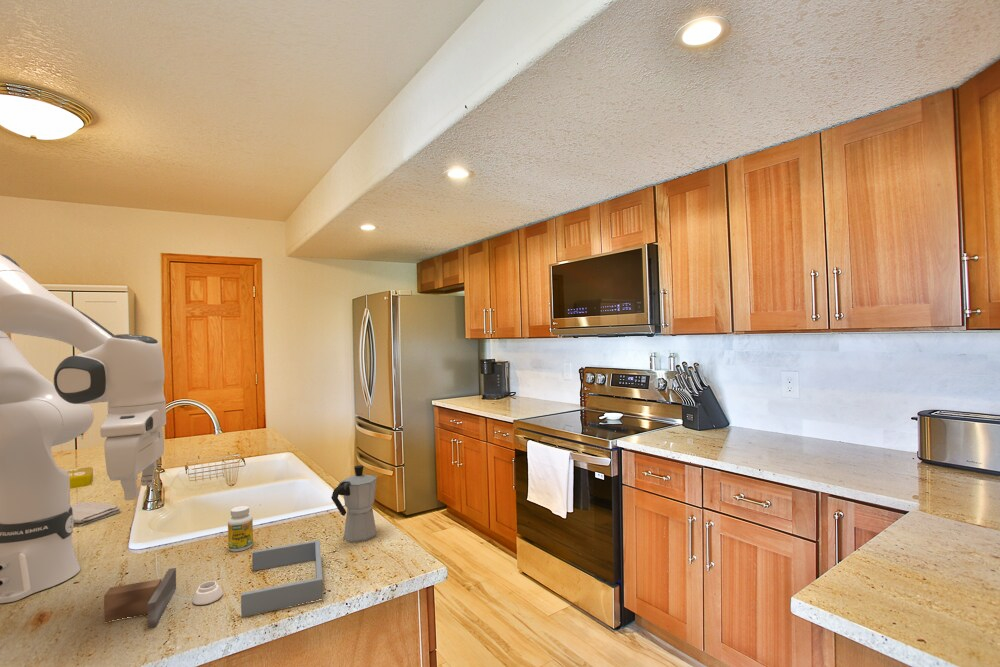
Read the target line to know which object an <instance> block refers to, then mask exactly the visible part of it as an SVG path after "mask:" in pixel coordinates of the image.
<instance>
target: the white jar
mask: <svg viewBox="0 0 1000 667" xmlns="http://www.w3.org/2000/svg"><path fill="white" fill-rule="evenodd" d="M223 593H224V592H223V590H222V589H221V587H220V585H219V584H218V583H217V581H216V580H209V581H205V582H202V583H201V584H199V586H198V588H197V589H196V591H195V593H194V596H193V598H192V600H191V601H192V604H194V605H198V606H205V605H208V604H212V603H214V602H216V601H218V600H219V599H220V598H222V596H223Z"/></svg>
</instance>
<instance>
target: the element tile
mask: <svg viewBox="0 0 1000 667" xmlns="http://www.w3.org/2000/svg"><path fill="white" fill-rule="evenodd" d="M65 470H66V471H67V472H68V474H69V476H70V490H71V489H77V488H83V487H88V486H91V485H92V484H93V481H94V467H91V466H88V467H81V468H73V469H72V468H71V469H65Z"/></svg>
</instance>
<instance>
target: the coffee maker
mask: <svg viewBox="0 0 1000 667" xmlns="http://www.w3.org/2000/svg"><path fill="white" fill-rule="evenodd" d="M364 468H365V466H364V465H359V464H358V465H355V466H354V473H355V474H354V475H352V476H349V477H346V478H345V479H343V480H342V481H341V482H339V483H338V485H337V486H336V487H335V488H334V489H333V492H332V494H331V500H332V501H333V504H334V505H335V506H336V508H337V509H338V511H339V513H340V514H341V516H345V515H346V518H345V525H344V531H343V532H344V533H343V539H342V540H343V541H344V540H346V541H345V542H347V541H349V542H348V543H351V542H352V543H351V544H354V543H353V542H357V543H363V542H364V541H365V542H369V541H370V540H372V539H374V538H376V537H377V527H376V522H375V521H376V520H375V517H374V516H375V515H374V509H373V504H374V503H375V497H376V489H377V480H378V479H377V478H378V475H369V474H363V472H364ZM339 495H340V496H343V500H344V505H343V504H342V503H341V501H340V499H339ZM345 508H346V509H347V510H346V509H345ZM362 541H363V542H362Z"/></svg>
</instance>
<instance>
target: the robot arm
mask: <svg viewBox="0 0 1000 667" xmlns="http://www.w3.org/2000/svg"><path fill="white" fill-rule="evenodd" d="M8 334H15V335H22V336H30V337H38V338H45V339H50V340H55V341H59V342H62V343H65V344H68V345H70V346H72V347H74V348H76V349H77V350H79V351H80V353H79V354H75V355H70V356H68V357H65V358H64V359H63V360H62V361H61V362H60V363H59V364H58V365H57V367H56V369H55V370H54V375H53V382H51V381H50V380H49V379H47V378H46V377H45V376H44V375H43V374H42V373H40V372H39V371H38V370H37V369H36V368H35V367H33V365H32V364H31V363H30V362H29V361H28V360H27V358H26V357H25V356H24V355H23V353H22V352H21V351H20V350H19V348H18V346H16V345H15V343H14V342H13V341H12V340H11V339H10V336H8ZM165 379H166V372H165V360H164V353H163V350H162V346H161V344H160V342H159V340H157V339H156V338H154V337H151V336H148V335H142V334H129V333H127V334H126V333H125V334H123V333H122V334H121V333H120V334H114V333H113V332H111V331H109V330H108V329H107V328H106V327H104V326H103V325H101V324H100V323H99V322H98V321H97V320H95V319H93V318H92V317H90V316H89V315H87V314H86V313H84V312H82V311H81V310H79V309H78V308H76V307H75V306H72V305H70V304H69V303H68V302H66V301H65V300H62V299H61V298H59V297H58V296H56V295H55V294H53V293H52V292H51V291H50V290H48V289H46V287H44V286H42V285H41V284H40V283H39V282H37V280H35V279H34V278H33V277H31V276H30V275H29V274H28V273H27V272H26V271H25V270H23V269H22V268H21V267H20V264H18V262H17V261H15V260H14V259H13V258H11V257H10V256H8V255H6V254H3V253H0V604H5V603H12V602H16V601H19V600H22V599H24V598H25V597H28V596H30V595H32V594H35V593H38V592H40V591H43V590H47V589H49V588H52V587H54V586H57V585H60V584H62V583H63V582H65V581H68V580H69V579H71V578H72V577H74V576H77V574H78V573H79V572H80V571H81V566H80V564H79V561H78V559H77V555H76V552H75V548H74V543H73V537H72V536H73V535H72V533H73V532H74V531H73V529H74V526H73V524H74V519H73V511H72V507H70V505H71V489H70V476H69V474H68V472H67V471H66V470H67V469H64V468H62V467H60V466H59V465H58V464H57V462H56V460H55V458H54V456H53V452H52V447H55V446H59V445H63V444H66V443H68V442H71V441H73V440H74V439H77V438H79V436H82V435H83V434H84V433H86V432H87V431H88V430H89V429H90V428H91V427H92V425H93V422H94V419H95V417H94V410H93V408H92V407H91V405H90V404H98V403H106V402H107V415H106V418H105V420H104V422H102V423H101V426H100V431H99V432H100V437H101V438H105V439H104V440H105V441H104V445H103V446H104V448H103V449H104V458H105V459H104V460H105V467H106V468H105V469H106V474H107V476H108V478H109V480H110V481H111V482H112V481H113V482H115V481H120V486H121V487H122V490H123V492H124V493H123V495H124V496H123V497H124V500H125V501H133V500H136V499H137V498H138V497H139V496H140V492H139V490H140V487H138V484H137V480H138V475H140V474H141V473H142V474H141V477H140V481H141V483H140V484H141V486H143V487H145V486H151V485H152V484H154V482H155V473H156V472H155V471H156V467H157V460H159V459H160V458H161V457H163V455H164V453H165V440H164V430H163V427H164V426H166V425H167V408H166V404H167V402H166V397H165V393H164V388H163V387H164V384H165Z"/></svg>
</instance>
